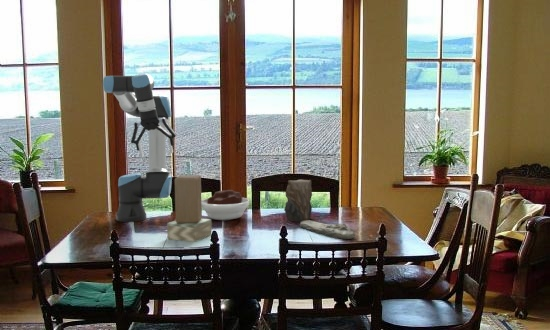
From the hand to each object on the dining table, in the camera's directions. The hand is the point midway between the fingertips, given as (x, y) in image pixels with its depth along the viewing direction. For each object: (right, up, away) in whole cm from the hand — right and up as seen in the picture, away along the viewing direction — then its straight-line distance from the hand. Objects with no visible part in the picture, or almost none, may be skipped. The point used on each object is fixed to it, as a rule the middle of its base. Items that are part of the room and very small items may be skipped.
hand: (157, 154), depth 248 cm
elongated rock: (+77, -36, 0) cm, 85 cm away
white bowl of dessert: (+28, -33, +32) cm, 54 cm away
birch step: (+16, -37, -6) cm, 40 cm away
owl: (+66, -33, +28) cm, 79 cm away
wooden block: (+15, -30, -6) cm, 34 cm away
